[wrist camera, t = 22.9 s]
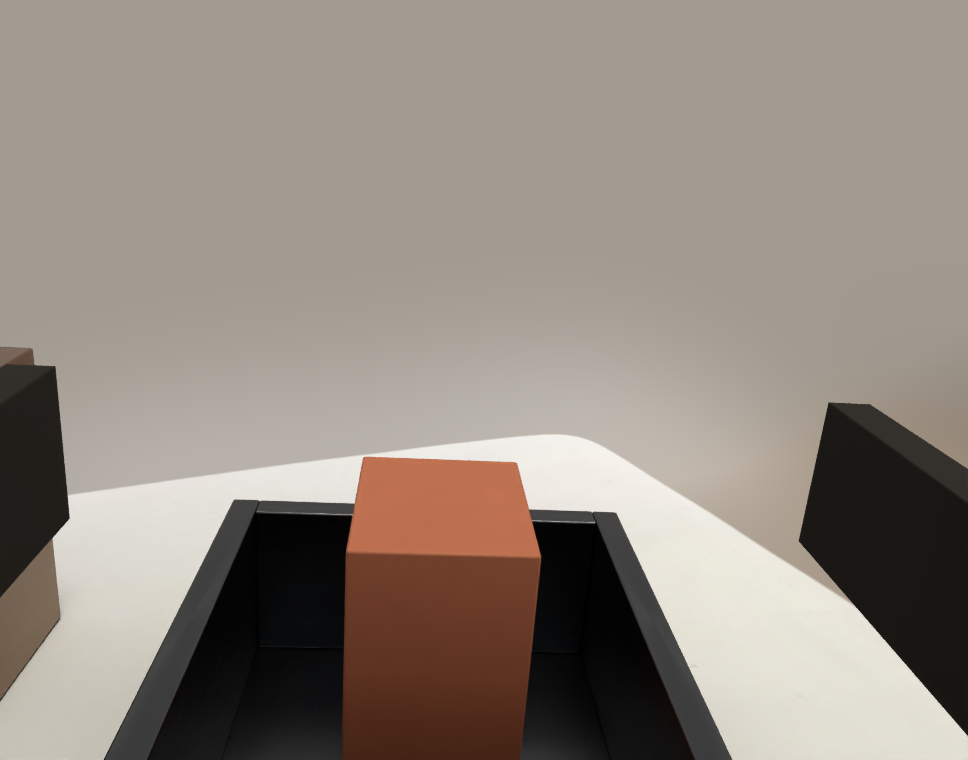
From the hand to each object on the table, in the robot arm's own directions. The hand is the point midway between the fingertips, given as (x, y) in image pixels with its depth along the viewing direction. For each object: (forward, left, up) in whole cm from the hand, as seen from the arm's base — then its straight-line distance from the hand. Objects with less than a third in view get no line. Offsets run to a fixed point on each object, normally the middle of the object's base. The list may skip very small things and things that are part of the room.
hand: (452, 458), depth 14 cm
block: (-3, +8, -15) cm, 17 cm away
